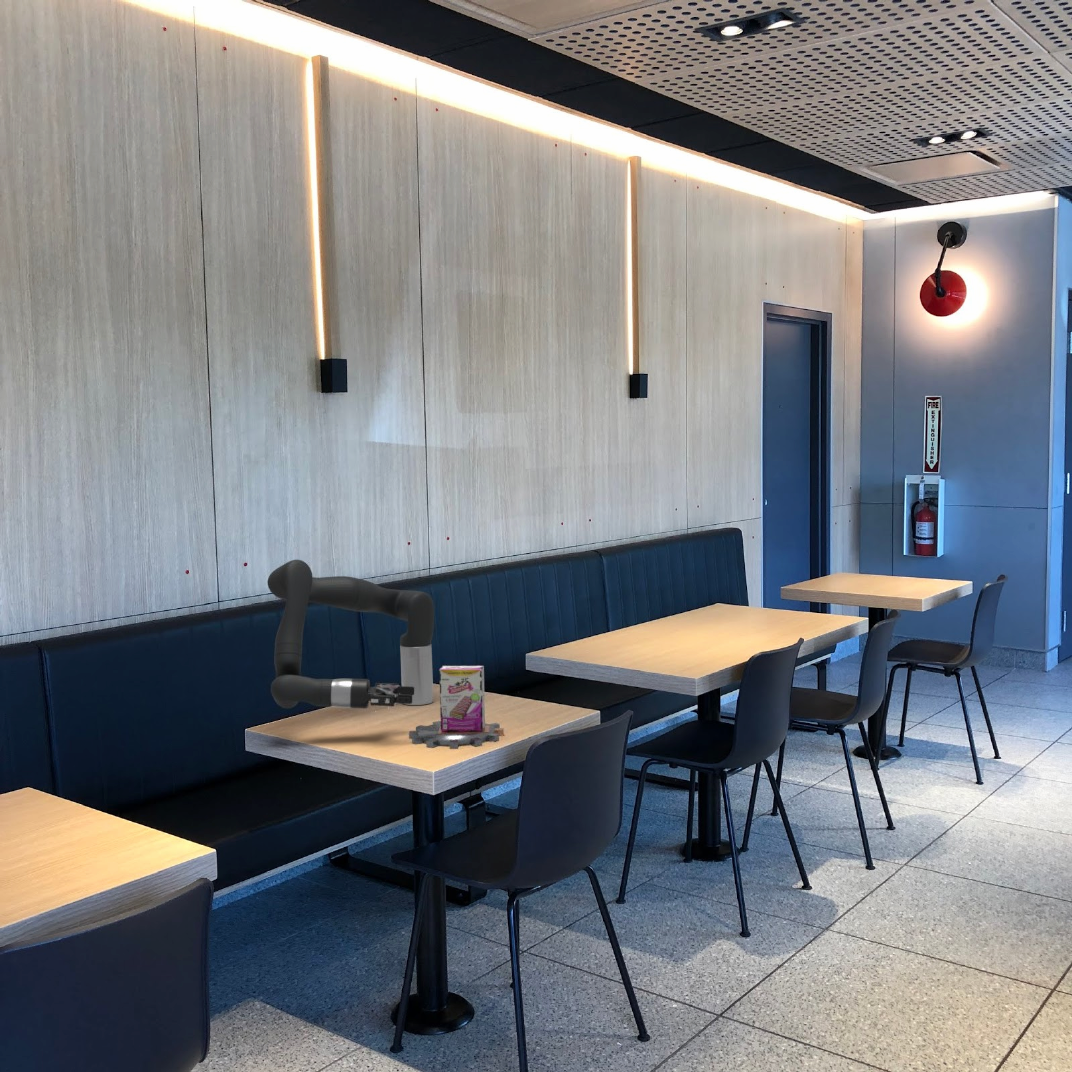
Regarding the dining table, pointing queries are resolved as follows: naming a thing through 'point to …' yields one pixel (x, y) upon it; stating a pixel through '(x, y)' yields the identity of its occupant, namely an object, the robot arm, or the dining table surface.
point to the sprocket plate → (454, 735)
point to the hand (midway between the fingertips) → (413, 695)
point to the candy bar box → (462, 698)
